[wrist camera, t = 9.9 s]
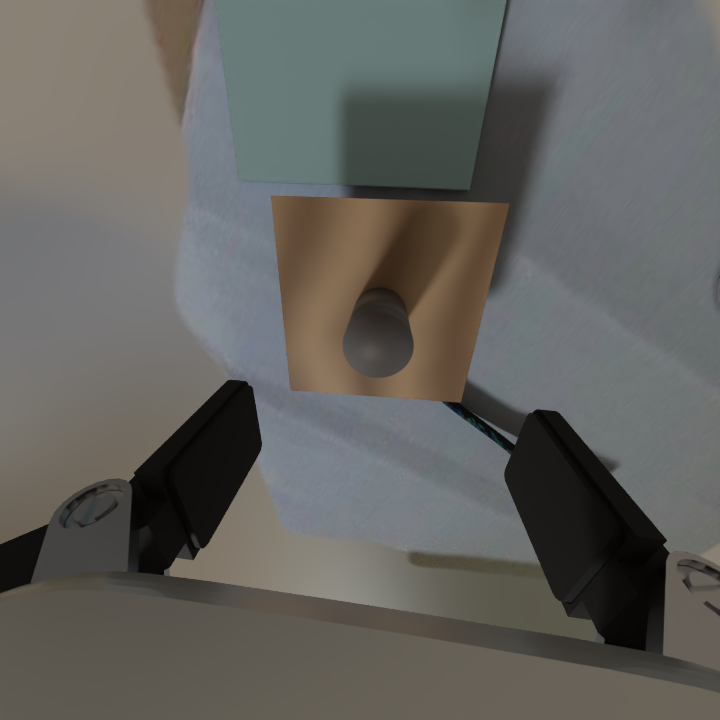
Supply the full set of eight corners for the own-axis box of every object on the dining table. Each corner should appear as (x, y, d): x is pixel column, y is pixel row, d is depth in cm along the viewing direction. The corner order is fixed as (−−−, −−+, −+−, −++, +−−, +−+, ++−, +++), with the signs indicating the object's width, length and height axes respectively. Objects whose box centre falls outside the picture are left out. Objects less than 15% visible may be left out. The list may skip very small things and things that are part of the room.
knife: (592, 496, 38) (614, 526, 34) (571, 506, 39) (591, 537, 35) (432, 353, 34) (435, 368, 29) (414, 369, 35) (415, 386, 31)
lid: (505, 203, 18) (567, 196, 12) (458, 397, 24) (482, 455, 18) (275, 196, 18) (222, 186, 12) (293, 385, 25) (264, 437, 19)
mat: (525, -120, 17) (533, -139, 16) (466, 190, 24) (469, 189, 23) (205, -114, 18) (196, -131, 17) (243, 181, 25) (238, 179, 24)
